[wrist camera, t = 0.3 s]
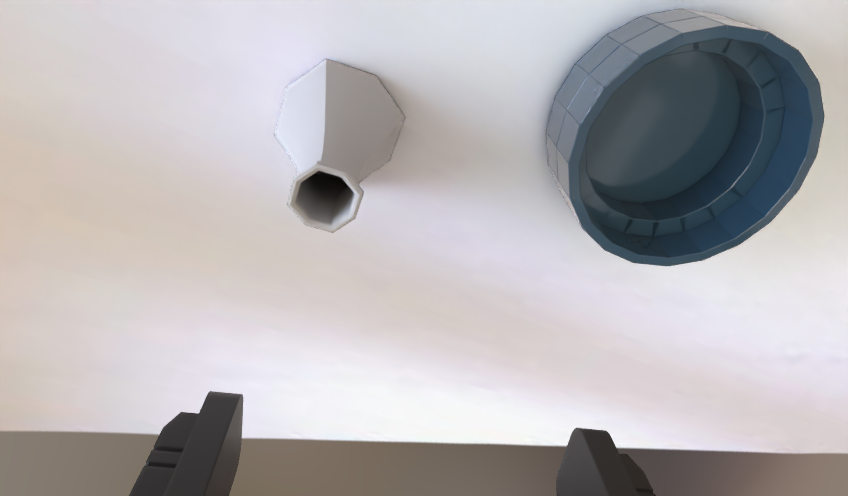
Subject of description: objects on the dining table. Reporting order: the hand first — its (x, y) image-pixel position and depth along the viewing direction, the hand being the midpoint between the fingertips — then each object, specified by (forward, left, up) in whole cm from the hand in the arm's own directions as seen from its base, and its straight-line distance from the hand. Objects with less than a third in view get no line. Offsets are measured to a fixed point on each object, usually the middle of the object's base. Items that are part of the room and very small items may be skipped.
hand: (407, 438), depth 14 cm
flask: (+2, -3, -24) cm, 24 cm away
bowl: (-6, +14, -23) cm, 28 cm away
